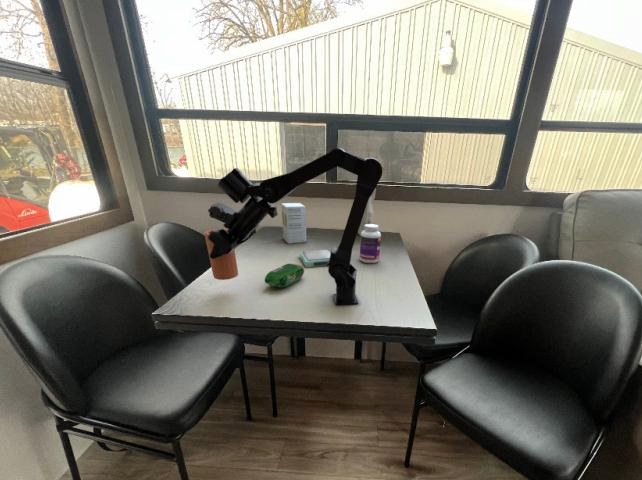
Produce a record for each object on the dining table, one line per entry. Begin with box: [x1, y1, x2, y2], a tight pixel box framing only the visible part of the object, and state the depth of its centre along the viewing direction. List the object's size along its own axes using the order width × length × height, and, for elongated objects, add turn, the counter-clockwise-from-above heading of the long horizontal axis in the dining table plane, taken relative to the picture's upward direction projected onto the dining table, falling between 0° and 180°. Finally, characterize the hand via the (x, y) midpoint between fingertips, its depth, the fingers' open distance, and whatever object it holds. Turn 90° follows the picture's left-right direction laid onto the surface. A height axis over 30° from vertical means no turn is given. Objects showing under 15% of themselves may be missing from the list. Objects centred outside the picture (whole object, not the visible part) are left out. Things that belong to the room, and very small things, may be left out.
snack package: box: [264, 263, 305, 288], centre depth 97 cm, size 7×16×5 cm, turn 153°
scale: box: [299, 249, 331, 268], centre depth 118 cm, size 12×12×3 cm
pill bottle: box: [359, 224, 382, 264], centre depth 118 cm, size 8×8×14 cm
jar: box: [204, 228, 239, 281], centre depth 84 cm, size 7×7×13 cm
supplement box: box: [281, 202, 308, 244], centre depth 139 cm, size 10×9×17 cm
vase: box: [357, 187, 377, 237], centre depth 151 cm, size 9×8×30 cm
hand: (217, 253), depth 85 cm, fingers closed on jar, 7 cm apart
